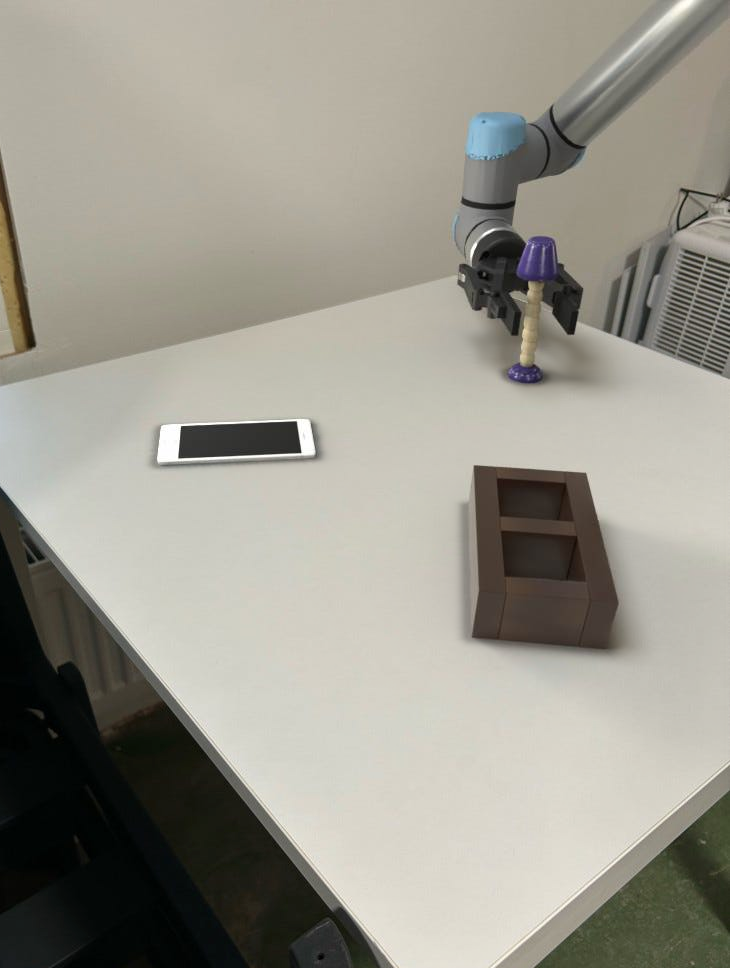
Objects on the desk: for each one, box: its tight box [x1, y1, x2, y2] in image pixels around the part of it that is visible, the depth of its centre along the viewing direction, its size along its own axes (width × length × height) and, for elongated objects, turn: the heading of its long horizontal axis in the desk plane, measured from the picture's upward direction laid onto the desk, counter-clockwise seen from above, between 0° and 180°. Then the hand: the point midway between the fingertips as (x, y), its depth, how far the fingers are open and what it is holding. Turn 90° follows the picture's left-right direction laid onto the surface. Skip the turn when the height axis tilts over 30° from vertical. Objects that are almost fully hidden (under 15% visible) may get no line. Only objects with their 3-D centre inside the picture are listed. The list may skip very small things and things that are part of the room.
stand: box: [467, 464, 620, 650], centre depth 68 cm, size 10×18×5 cm, turn 173°
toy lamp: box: [506, 235, 559, 384], centre depth 96 cm, size 5×5×17 cm
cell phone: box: [156, 418, 317, 466], centre depth 87 cm, size 8×16×1 cm, turn 96°
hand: (544, 323), depth 91 cm, fingers open, 6 cm apart
